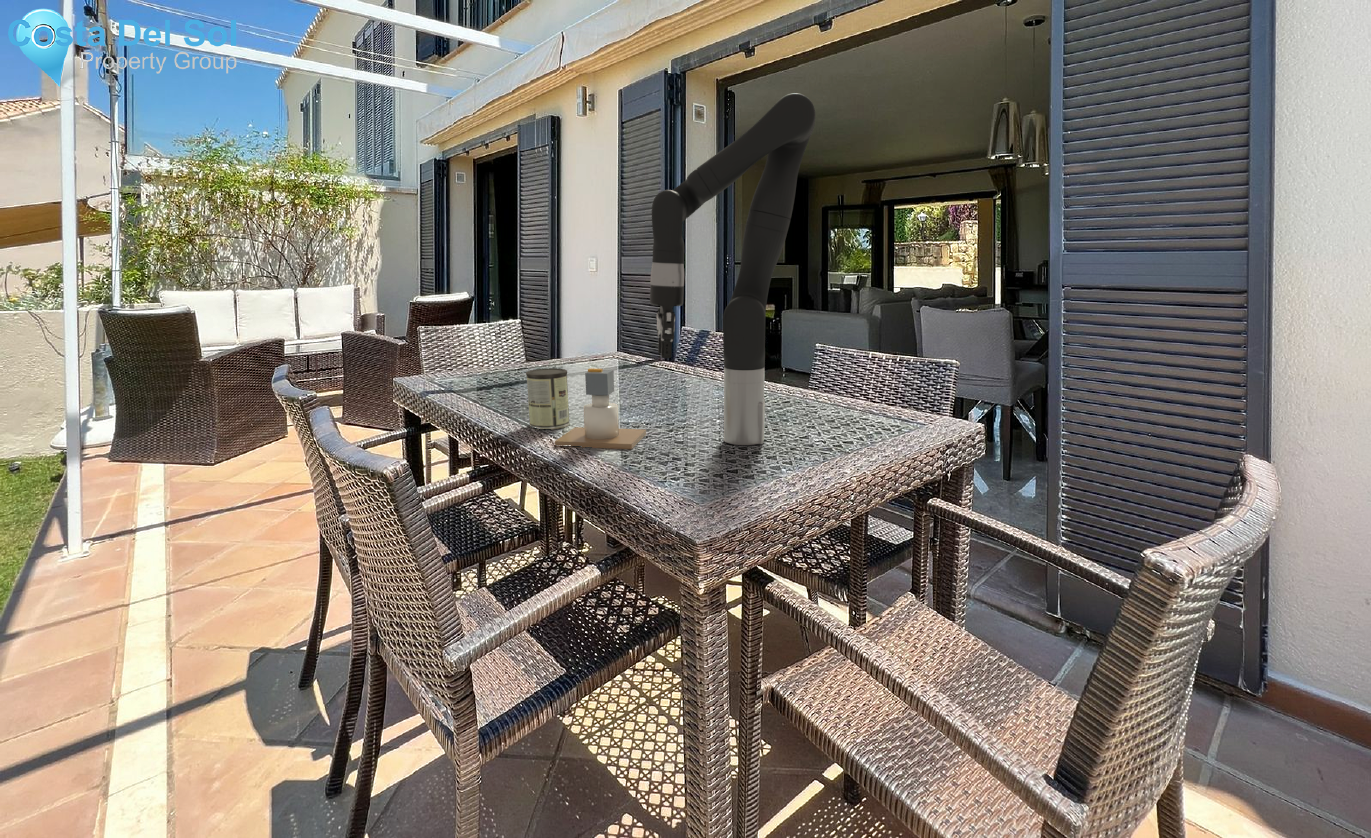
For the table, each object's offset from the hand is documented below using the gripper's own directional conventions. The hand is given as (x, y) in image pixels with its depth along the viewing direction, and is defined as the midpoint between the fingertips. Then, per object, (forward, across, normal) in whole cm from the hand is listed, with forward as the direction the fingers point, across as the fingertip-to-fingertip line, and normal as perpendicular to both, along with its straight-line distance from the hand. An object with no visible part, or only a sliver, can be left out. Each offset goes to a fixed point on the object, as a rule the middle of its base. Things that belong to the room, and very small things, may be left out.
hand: (664, 355), depth 163 cm
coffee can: (+22, +19, +27) cm, 40 cm away
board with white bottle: (+21, +1, +14) cm, 25 cm away
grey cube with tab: (+9, +1, +14) cm, 17 cm away
